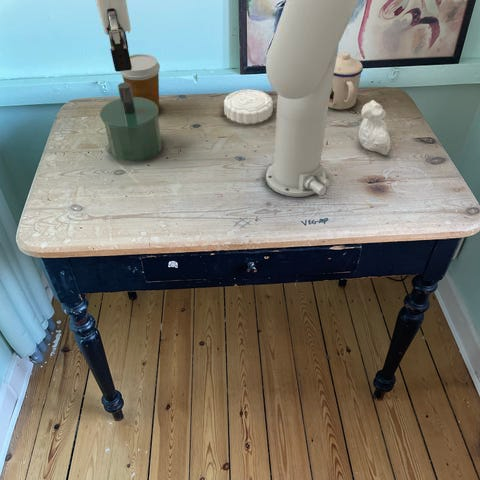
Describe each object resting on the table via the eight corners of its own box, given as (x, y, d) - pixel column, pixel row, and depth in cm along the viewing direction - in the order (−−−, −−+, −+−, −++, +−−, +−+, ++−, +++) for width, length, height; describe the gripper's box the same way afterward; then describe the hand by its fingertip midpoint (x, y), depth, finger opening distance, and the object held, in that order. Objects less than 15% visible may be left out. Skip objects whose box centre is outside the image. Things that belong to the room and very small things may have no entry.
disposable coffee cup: (119, 114, 122) (109, 64, 113) (145, 98, 127) (137, 49, 117) (148, 125, 118) (140, 75, 109) (173, 109, 123) (167, 59, 114)
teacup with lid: (316, 94, 127) (321, 47, 118) (349, 91, 128) (357, 43, 119) (330, 118, 120) (337, 69, 111) (365, 114, 121) (375, 65, 112)
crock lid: (169, 118, 105) (165, 87, 100) (118, 138, 101) (111, 106, 95) (140, 96, 111) (135, 66, 106) (91, 113, 107) (83, 82, 102)
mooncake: (255, 96, 127) (255, 82, 124) (281, 116, 121) (282, 102, 118) (215, 109, 123) (214, 95, 120) (240, 130, 117) (240, 116, 114)
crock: (171, 151, 111) (166, 116, 105) (126, 169, 107) (119, 133, 100) (145, 130, 117) (139, 95, 111) (102, 146, 113) (93, 111, 106)
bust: (361, 140, 118) (338, 107, 110) (389, 120, 114) (368, 84, 107) (376, 169, 110) (353, 135, 103) (407, 148, 107) (386, 112, 99)
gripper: (125, -33, 78) (145, 76, 92) (119, -61, 89) (137, 40, 103) (78, -28, 78) (104, 81, 91) (77, -57, 88) (101, 44, 102)
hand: (122, 59), depth 97 cm, fingers open, 9 cm apart
